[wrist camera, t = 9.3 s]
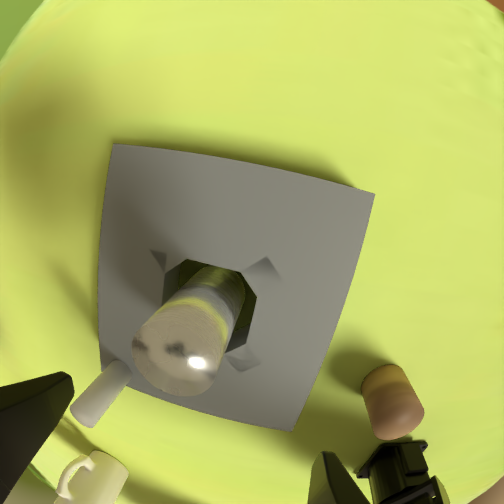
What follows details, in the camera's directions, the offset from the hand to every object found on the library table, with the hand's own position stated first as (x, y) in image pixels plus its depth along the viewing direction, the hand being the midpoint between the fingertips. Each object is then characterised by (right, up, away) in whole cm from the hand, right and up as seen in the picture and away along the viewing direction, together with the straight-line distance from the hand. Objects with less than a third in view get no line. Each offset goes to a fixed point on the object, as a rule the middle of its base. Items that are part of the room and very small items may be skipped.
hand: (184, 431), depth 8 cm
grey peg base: (0, +3, +12) cm, 13 cm away
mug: (-18, -23, +20) cm, 36 cm away
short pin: (+13, -5, +13) cm, 19 cm away
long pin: (0, +3, +12) cm, 13 cm away
